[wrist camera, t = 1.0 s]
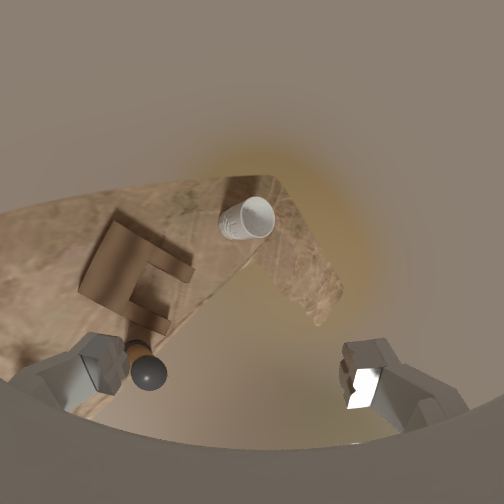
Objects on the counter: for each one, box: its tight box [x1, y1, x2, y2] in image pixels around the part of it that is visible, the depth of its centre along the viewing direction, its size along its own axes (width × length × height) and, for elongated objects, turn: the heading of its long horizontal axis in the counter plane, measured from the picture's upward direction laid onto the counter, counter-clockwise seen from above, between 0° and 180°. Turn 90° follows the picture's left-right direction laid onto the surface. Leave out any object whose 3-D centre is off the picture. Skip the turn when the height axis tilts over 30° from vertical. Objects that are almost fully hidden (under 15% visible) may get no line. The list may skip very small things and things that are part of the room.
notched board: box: [78, 221, 195, 336], centre depth 46 cm, size 18×14×2 cm
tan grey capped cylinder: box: [123, 340, 168, 391], centre depth 41 cm, size 7×6×11 cm
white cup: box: [218, 196, 275, 240], centre depth 55 cm, size 8×8×10 cm
